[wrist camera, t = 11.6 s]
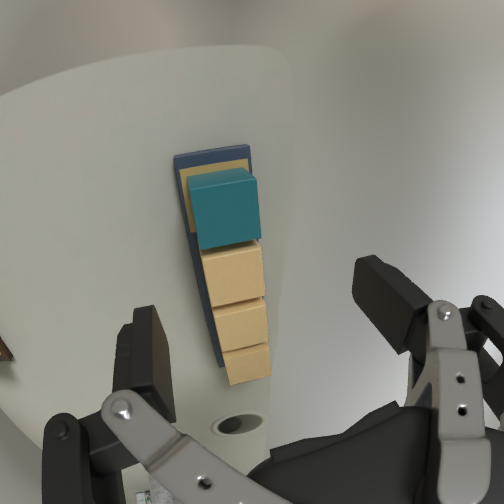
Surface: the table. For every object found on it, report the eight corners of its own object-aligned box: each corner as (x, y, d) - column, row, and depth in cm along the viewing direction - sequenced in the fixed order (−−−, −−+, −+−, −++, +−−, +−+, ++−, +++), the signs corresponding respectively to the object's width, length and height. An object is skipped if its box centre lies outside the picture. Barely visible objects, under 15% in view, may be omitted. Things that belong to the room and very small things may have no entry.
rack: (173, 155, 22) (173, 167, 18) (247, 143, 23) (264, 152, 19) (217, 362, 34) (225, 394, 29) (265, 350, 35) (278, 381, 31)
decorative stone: (138, 438, 39) (145, 517, 26) (170, 434, 40) (183, 515, 27) (162, 460, 44) (173, 526, 32) (191, 455, 45) (205, 523, 32)
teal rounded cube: (186, 176, 22) (189, 189, 19) (243, 166, 23) (256, 178, 19) (195, 228, 24) (200, 250, 21) (248, 218, 25) (261, 238, 22)
